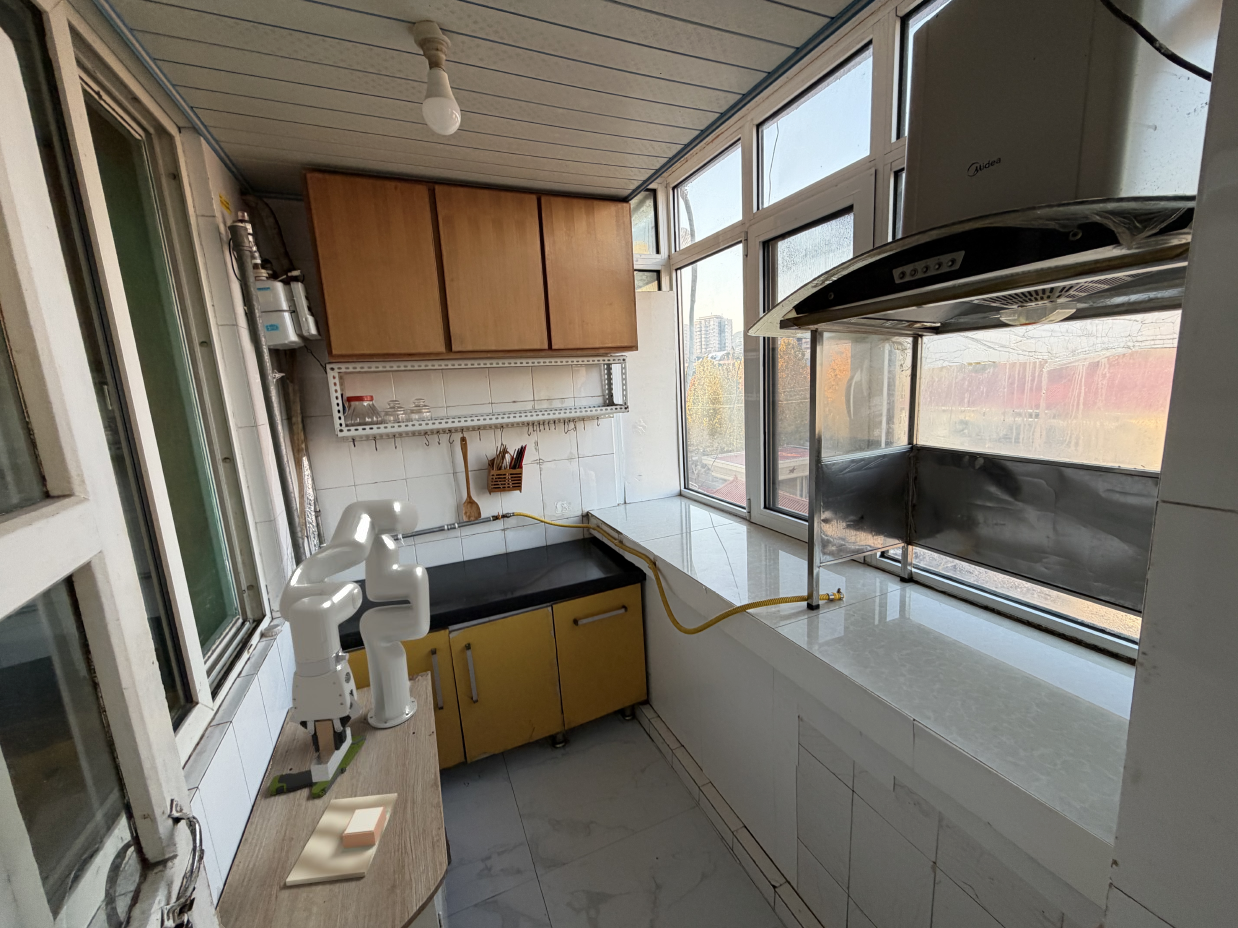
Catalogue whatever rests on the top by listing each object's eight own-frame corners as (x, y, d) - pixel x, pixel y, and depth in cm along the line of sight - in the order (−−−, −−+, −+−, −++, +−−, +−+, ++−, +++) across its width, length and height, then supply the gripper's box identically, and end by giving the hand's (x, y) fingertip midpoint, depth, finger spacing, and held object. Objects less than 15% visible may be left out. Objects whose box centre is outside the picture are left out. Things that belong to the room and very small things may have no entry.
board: (332, 803, 108) (331, 799, 108) (397, 796, 110) (397, 792, 110) (286, 885, 91) (285, 880, 90) (365, 875, 92) (364, 871, 92)
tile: (356, 821, 102) (355, 808, 102) (386, 818, 103) (385, 805, 103) (344, 848, 97) (342, 834, 96) (375, 844, 97) (374, 831, 97)
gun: (313, 740, 129) (370, 740, 129) (261, 800, 110) (328, 800, 110) (312, 732, 128) (369, 731, 129) (260, 790, 110) (327, 790, 110)
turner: (336, 743, 102) (330, 700, 100) (351, 741, 103) (346, 698, 101) (312, 781, 92) (305, 735, 91) (329, 780, 93) (323, 733, 91)
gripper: (371, 647, 98) (380, 729, 101) (284, 654, 96) (296, 737, 99) (356, 668, 91) (366, 756, 94) (261, 676, 89) (275, 765, 92)
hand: (330, 745), depth 97 cm, fingers closed on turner, 3 cm apart
